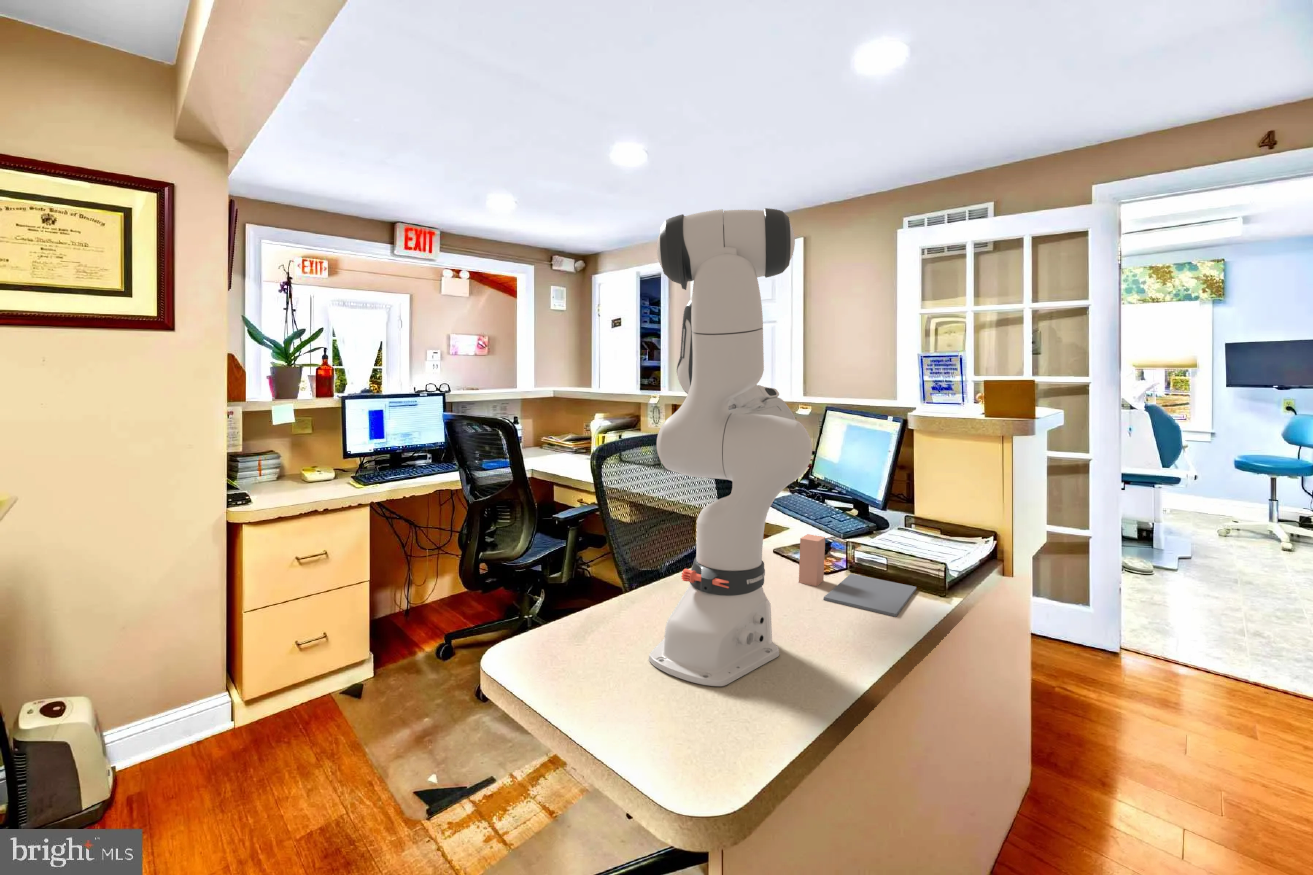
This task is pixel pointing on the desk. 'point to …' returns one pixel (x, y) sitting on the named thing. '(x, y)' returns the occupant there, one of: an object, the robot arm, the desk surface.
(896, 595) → the mat
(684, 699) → the desk surface
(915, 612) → the desk surface
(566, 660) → the desk surface
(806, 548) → the block
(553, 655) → the desk surface
